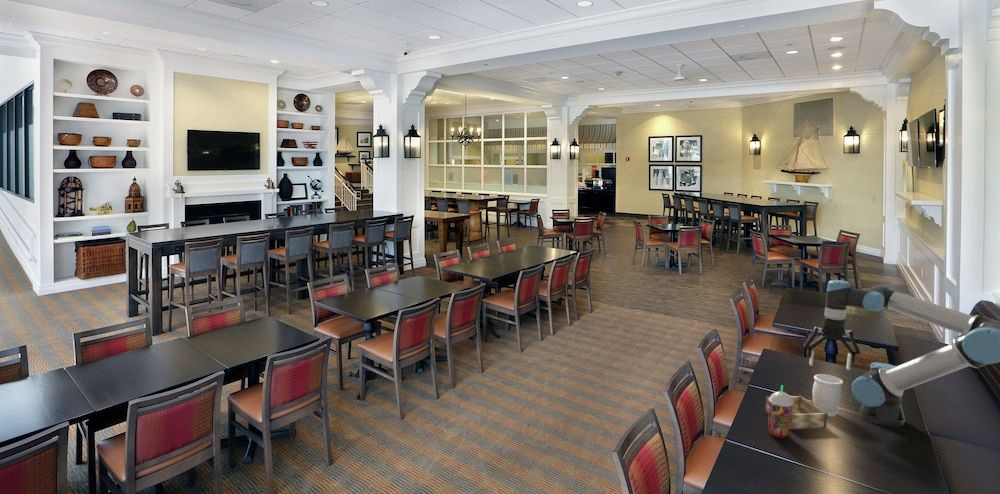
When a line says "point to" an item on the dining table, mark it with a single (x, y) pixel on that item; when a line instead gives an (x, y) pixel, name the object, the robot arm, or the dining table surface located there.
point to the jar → (827, 393)
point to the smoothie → (779, 413)
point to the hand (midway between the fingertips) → (829, 366)
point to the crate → (804, 414)
